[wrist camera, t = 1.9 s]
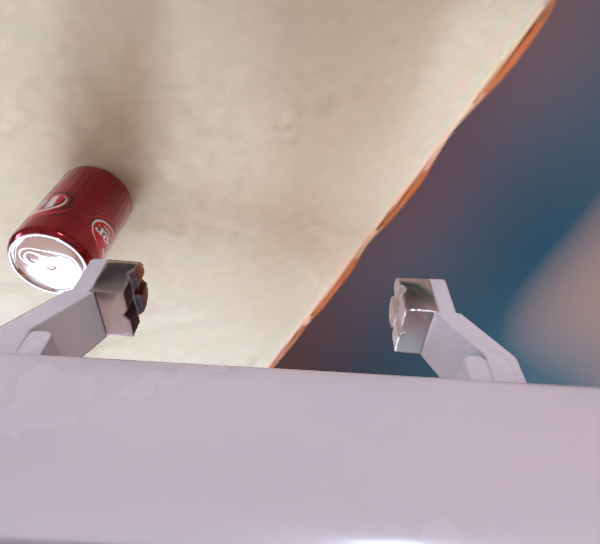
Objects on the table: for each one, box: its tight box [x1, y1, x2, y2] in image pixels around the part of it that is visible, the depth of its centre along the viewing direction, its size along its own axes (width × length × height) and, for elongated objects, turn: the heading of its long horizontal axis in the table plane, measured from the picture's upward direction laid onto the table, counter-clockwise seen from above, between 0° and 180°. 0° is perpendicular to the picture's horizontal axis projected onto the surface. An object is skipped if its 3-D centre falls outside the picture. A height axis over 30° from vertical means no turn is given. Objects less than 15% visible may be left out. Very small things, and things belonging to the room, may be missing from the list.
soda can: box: [7, 166, 132, 294], centre depth 45 cm, size 7×7×12 cm
